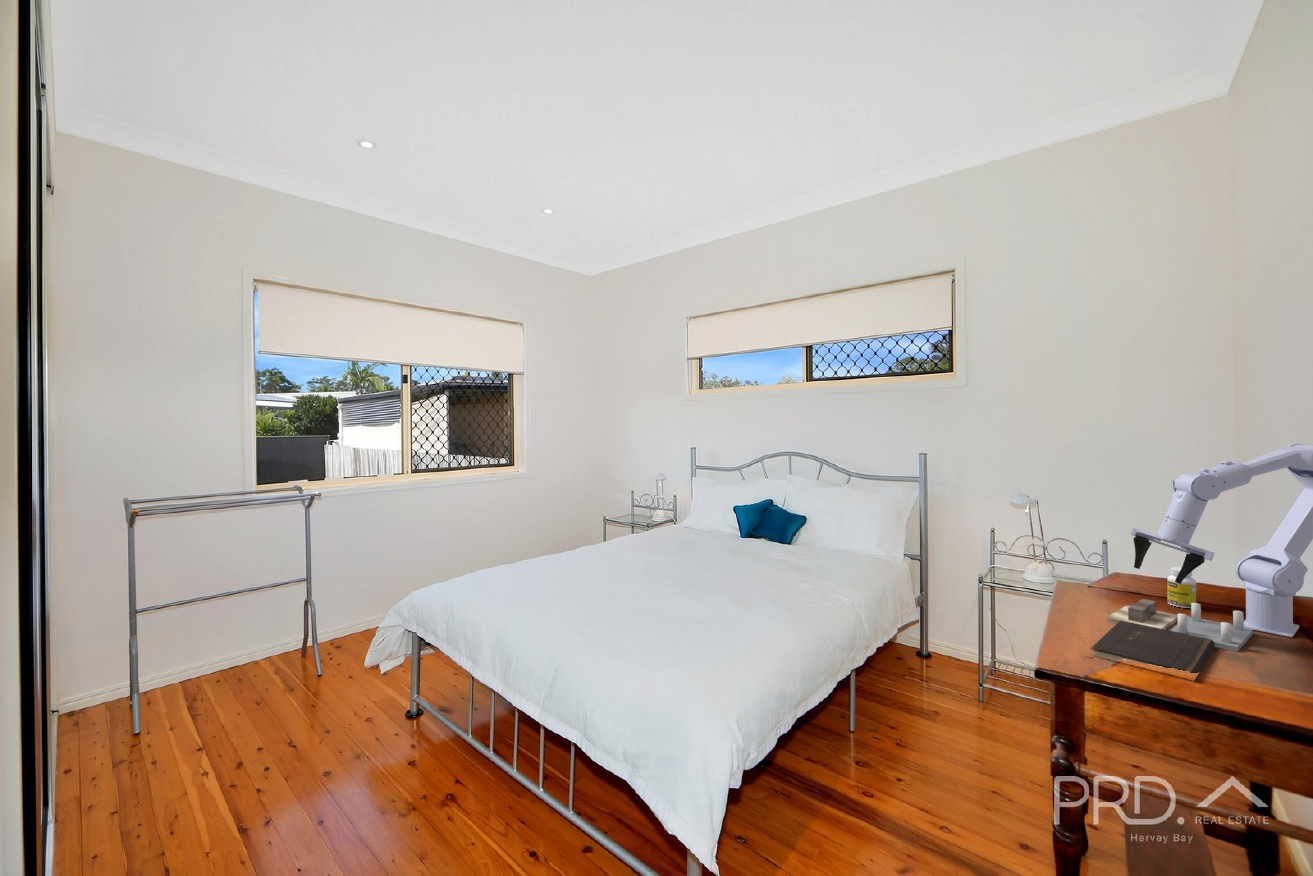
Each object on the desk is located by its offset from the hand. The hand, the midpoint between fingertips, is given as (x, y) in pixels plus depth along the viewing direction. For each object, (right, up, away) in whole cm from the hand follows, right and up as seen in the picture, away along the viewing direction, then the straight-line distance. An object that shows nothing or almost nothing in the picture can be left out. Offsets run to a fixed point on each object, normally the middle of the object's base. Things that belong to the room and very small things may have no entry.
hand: (1156, 575), depth 129 cm
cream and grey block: (+2, -13, +6) cm, 14 cm away
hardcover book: (-11, -14, -11) cm, 21 cm away
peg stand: (+8, -12, -4) cm, 16 cm away
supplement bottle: (+19, -12, +14) cm, 26 cm away
